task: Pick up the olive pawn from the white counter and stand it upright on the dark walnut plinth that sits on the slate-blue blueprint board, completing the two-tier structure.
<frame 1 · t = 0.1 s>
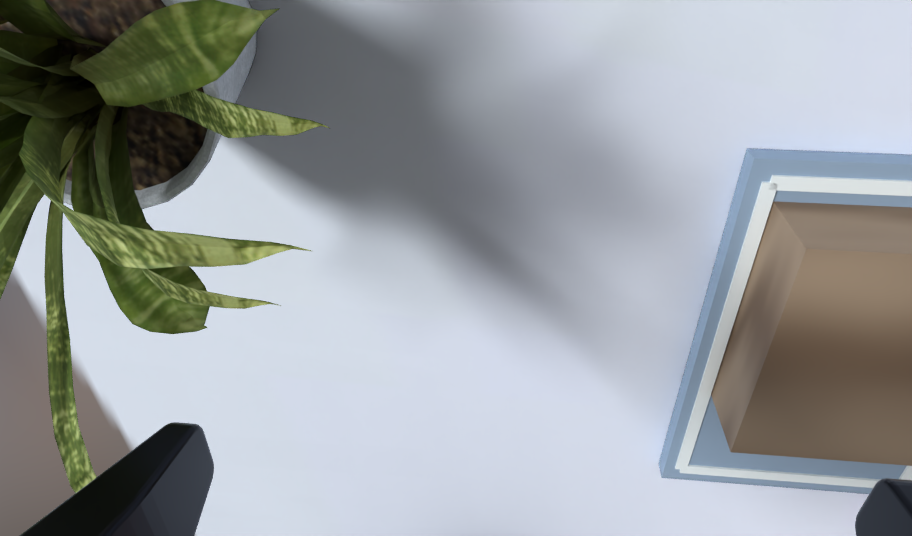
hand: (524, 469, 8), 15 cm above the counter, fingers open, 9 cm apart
blueprint board: (836, 342, 25), on the counter
house plant: (220, 40, 20), on the counter, touching gripper
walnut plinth: (855, 302, 24), resting on blueprint board
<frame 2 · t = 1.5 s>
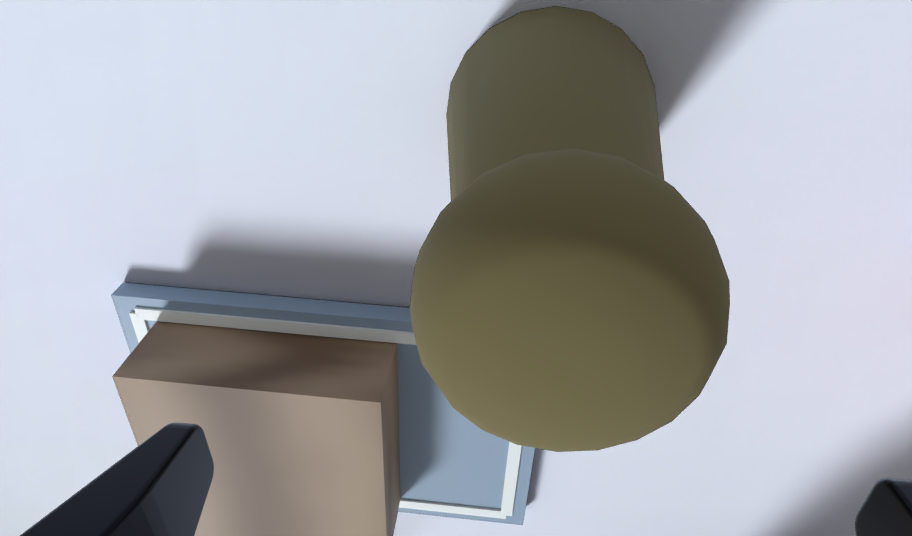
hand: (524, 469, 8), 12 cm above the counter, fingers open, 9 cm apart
blueprint board: (342, 407, 26), on the counter
olive pawn: (548, 113, 18), on the counter
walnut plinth: (295, 402, 26), resting on blueprint board
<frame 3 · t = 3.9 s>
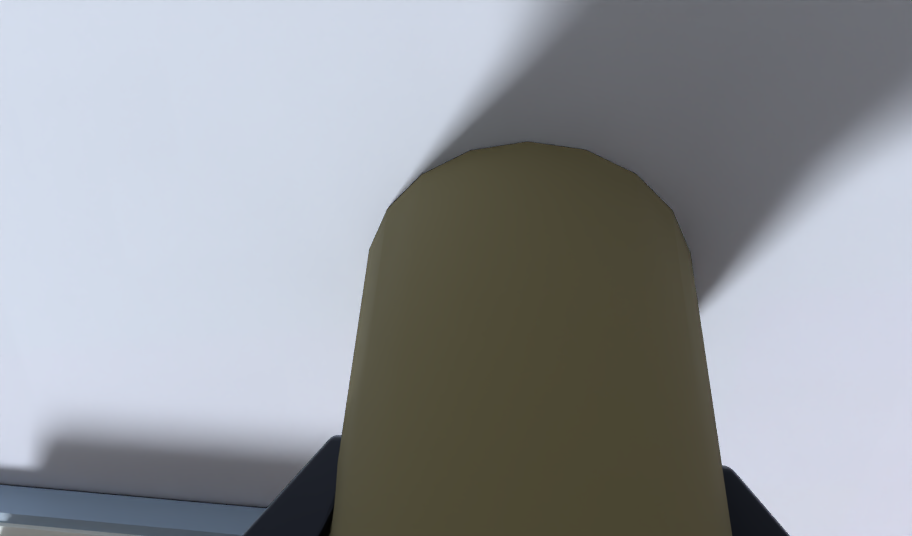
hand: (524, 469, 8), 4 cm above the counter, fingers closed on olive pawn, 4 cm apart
olive pawn: (524, 286, 12), on the counter, touching gripper
when the fingers open (9 cm above the counter, at t = 9.5 s): olive pawn stays where it is, resting on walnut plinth.
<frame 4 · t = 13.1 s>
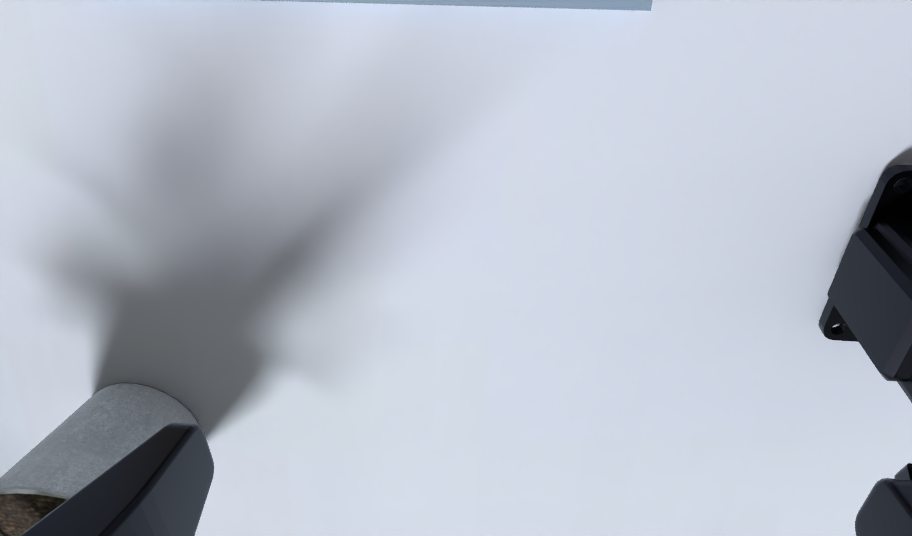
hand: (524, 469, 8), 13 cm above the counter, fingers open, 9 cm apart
house plant: (153, 402, 28), on the counter
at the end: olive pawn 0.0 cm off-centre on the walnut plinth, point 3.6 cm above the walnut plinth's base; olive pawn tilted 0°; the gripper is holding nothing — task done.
